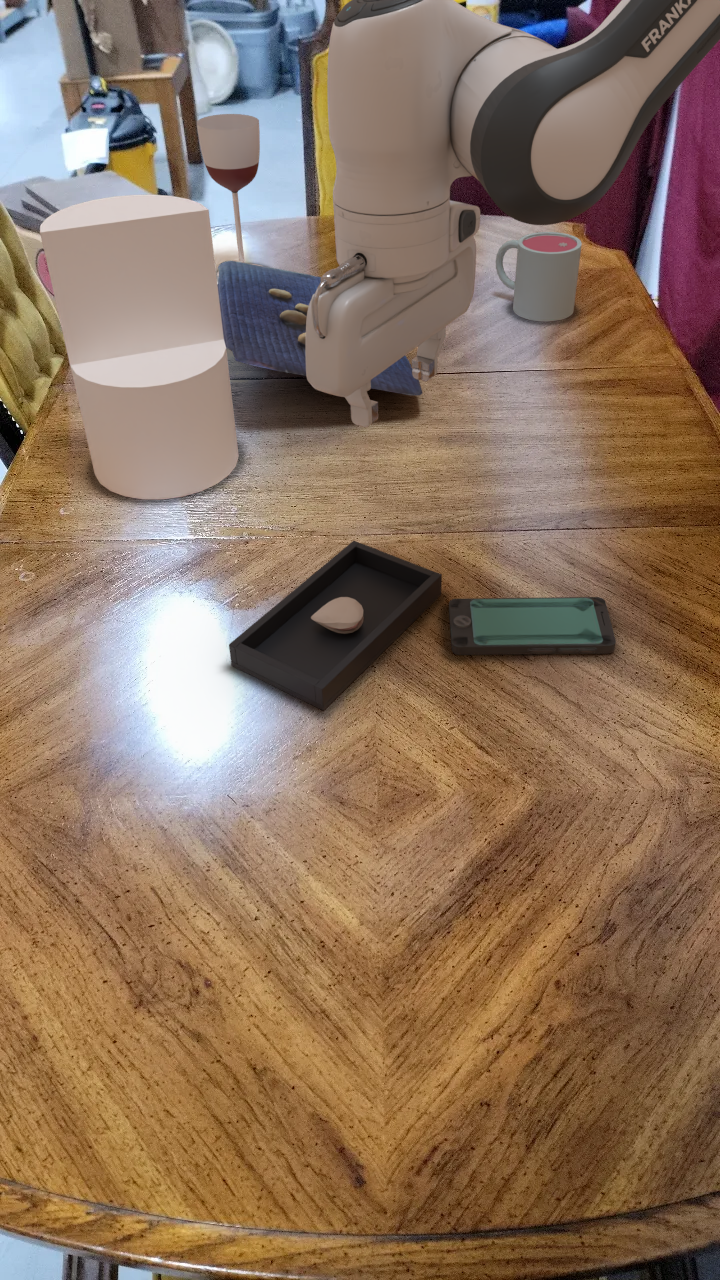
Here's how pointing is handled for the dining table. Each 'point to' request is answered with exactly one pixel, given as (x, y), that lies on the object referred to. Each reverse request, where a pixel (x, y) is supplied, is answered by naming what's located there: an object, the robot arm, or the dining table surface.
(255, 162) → the wineglass
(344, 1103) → the dining table surface
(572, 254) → the mug
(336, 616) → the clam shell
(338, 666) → the tray
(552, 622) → the smartphone
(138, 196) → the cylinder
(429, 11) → the robot arm
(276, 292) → the mat
